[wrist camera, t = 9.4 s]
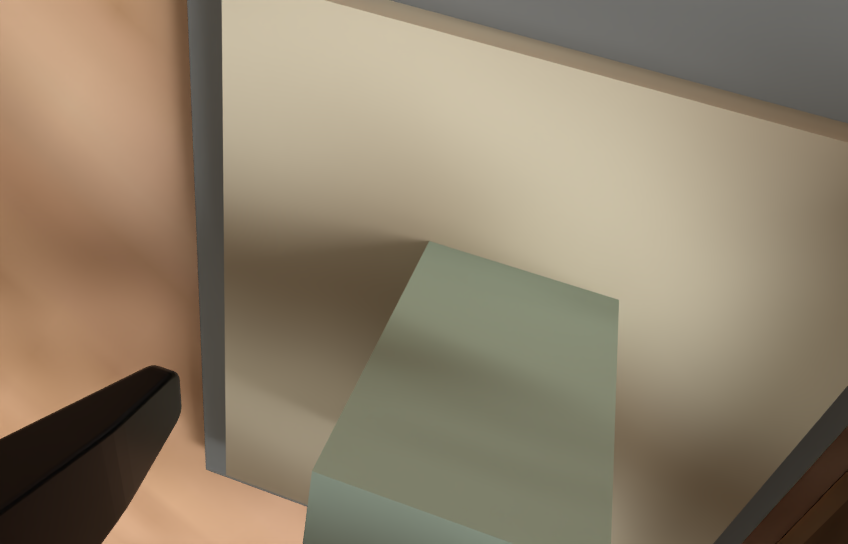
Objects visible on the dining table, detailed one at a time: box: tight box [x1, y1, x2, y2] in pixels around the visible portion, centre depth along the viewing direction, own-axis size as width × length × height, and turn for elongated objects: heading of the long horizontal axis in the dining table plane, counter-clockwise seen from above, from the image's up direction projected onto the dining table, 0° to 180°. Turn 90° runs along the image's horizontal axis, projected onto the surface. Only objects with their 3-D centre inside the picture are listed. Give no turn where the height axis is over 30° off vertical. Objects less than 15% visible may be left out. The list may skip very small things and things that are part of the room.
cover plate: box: [222, 0, 848, 544], centre depth 10 cm, size 11×10×5 cm
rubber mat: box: [187, 0, 848, 544], centre depth 12 cm, size 14×12×1 cm
